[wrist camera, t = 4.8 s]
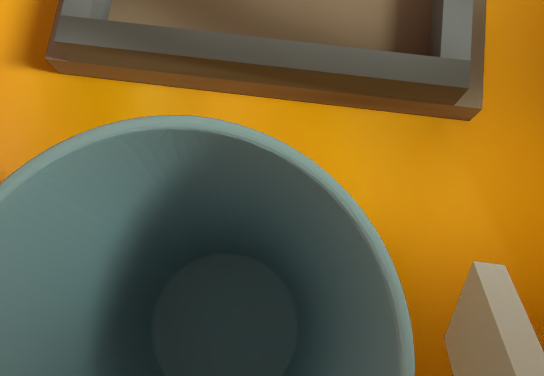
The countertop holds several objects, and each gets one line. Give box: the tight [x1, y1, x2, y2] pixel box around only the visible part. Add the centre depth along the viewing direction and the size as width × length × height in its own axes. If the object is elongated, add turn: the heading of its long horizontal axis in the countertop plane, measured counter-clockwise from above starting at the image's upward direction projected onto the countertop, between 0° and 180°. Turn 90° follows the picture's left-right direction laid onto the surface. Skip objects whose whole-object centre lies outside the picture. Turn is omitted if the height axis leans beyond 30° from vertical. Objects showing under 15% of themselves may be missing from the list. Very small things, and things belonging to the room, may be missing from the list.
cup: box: [0, 115, 415, 376], centre depth 13 cm, size 8×8×10 cm
